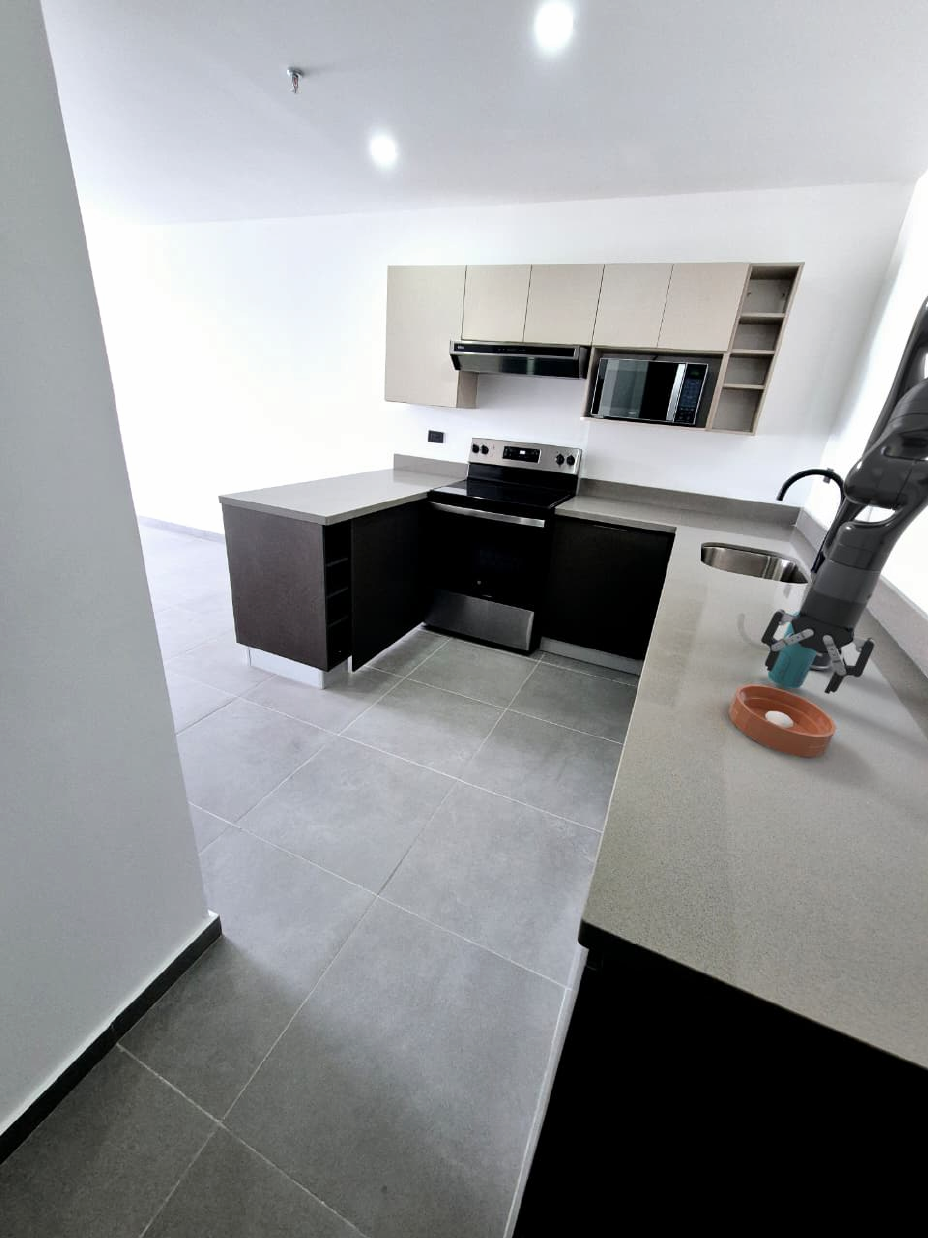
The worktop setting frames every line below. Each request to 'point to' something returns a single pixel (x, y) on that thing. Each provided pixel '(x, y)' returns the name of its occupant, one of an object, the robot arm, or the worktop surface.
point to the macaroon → (779, 719)
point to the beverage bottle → (792, 663)
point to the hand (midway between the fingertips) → (797, 680)
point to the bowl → (800, 739)
